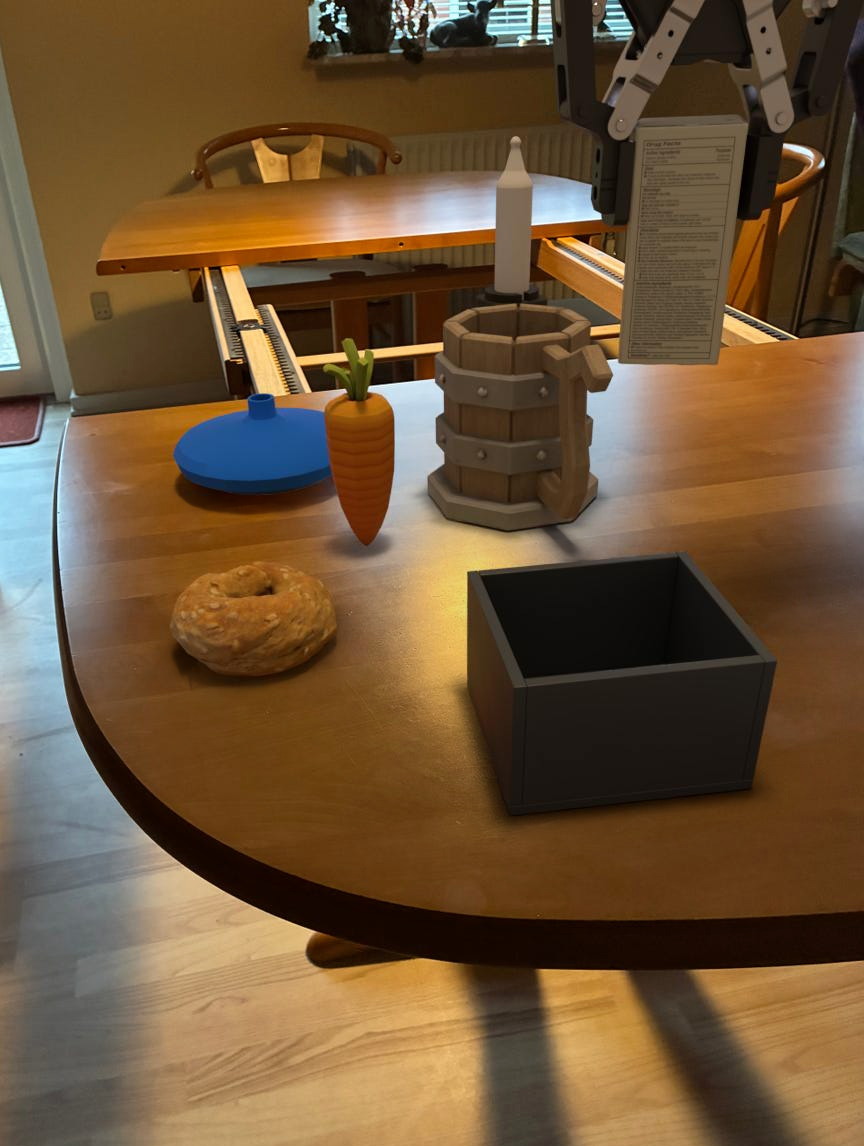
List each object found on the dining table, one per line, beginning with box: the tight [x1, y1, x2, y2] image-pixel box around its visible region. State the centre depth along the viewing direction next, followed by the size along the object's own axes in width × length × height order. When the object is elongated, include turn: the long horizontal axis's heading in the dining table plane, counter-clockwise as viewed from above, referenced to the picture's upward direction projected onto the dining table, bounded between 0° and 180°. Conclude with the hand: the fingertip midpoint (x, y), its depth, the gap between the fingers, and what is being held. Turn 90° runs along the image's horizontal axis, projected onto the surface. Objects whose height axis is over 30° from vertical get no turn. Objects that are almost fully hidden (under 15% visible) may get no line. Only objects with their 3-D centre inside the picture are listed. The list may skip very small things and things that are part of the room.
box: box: [617, 113, 749, 366], centre depth 49 cm, size 5×4×11 cm
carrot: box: [322, 338, 396, 547], centre depth 69 cm, size 5×5×15 cm
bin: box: [466, 550, 778, 816], centre depth 51 cm, size 12×11×8 cm
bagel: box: [169, 560, 338, 677], centre depth 61 cm, size 10×11×5 cm
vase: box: [172, 392, 333, 496], centre depth 83 cm, size 16×16×7 cm
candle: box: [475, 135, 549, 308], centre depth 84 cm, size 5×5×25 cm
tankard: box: [426, 304, 614, 532], centre depth 73 cm, size 20×13×15 cm, turn 14°
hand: (680, 219), depth 48 cm, fingers closed on box, 6 cm apart
